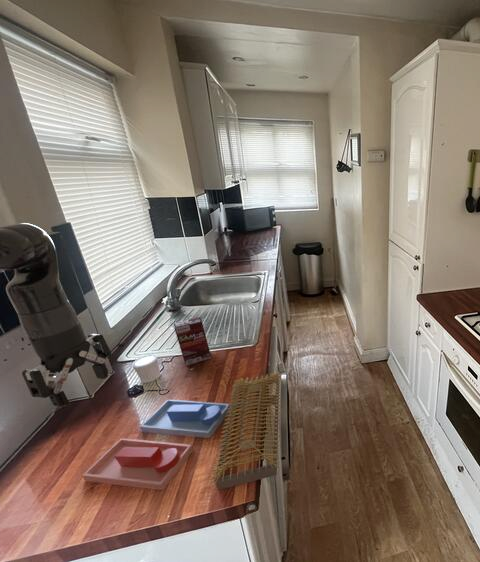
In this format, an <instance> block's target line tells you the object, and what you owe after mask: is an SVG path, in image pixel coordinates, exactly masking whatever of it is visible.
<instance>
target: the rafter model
mask: <svg viewBox="0 0 480 562" xmlns="http://www.w3.org/2000/svg"><path fill="white" fill-rule="evenodd" d="M280 384H281V370H279V371H275V372H273V373H271V374H270V375H269V374H268V375H263V374H261V376H259V377H258V375H257V376H256V377H254V376H252V377H251V378H249V377H248V376H247V377H246V379H244V378H243V377H242V378H241V380H239V379H233V384H232V387H231V388H232V389H231V392H230V395H229V397H230V398H229V400H230V401H228V404H230V405H228V406H231V407H230V408H228V409H230V411H228V412H226V413H228V414H227V416H225V418H226V419H225V418H224V420H223V422H225V423H223V427H222V428H221V429H222V430H223V429H225V430H223V431H221V434H223V435H221V436H220V438H223V439H220V440H219V443H221V442H222V443H221V444H218V445H217V446H218V447H221V448H219V449H217V450H216V451H217V452H220V453H219V454H218V453H217V454H216V455H215V456H216V457H218V458H216V459H215V460H214V462H217V461H218V462H217V463H215V464H214V465H213V467H216V468H215V469H212V472H211V475H214V474H215V475H214V476H212V477H211V478H210V481H211V482H210V483H209V486H211V485H212V484H213V483H214V485H216V488H217V491H221V490H224V489H228V488H232V487H235V486H236V487H237V486H239V485H244V484H247V483H252V482H255V481H256V482H257V481H260V480H262V479H267V478H270V477H274V476H278V468H279V466H278V464H279V461H278V458H279V455H280V454H279V453H278V451H280V449H279V448H278V447H279V446H280V444H279V443H278V442H280V439H279V438H280V436H279V433H280V431H279V429H280V427H279V425H280V423H279V421H280V419H279V417H280V415H279V414H280V413H281V411H280V410H281V408H280V406H281V404H280V402H281V401H280V399H281V398H280V396H281V394H280V393H281V391H280ZM256 395H257V396H256ZM228 409H227V410H228ZM266 409H267V410H266ZM236 415H238V416H236ZM236 419H237V420H236ZM265 420H267V421H265ZM235 423H236V424H235ZM265 424H267V425H266V426H265ZM224 425H226V426H224ZM234 427H235V428H234ZM265 429H266V430H265ZM234 431H235V432H234ZM264 433H265V434H264ZM258 434H259V435H258ZM261 434H262V435H261ZM233 436H234V437H233ZM264 437H265V438H264ZM260 438H262V439H260ZM272 439H273V440H272ZM232 440H233V441H232ZM257 443H259V444H257ZM261 443H262V444H261ZM230 445H232V446H230ZM263 446H264V447H263ZM265 446H266V447H265ZM237 447H238V448H237ZM230 450H231V451H230ZM246 450H251V451H246ZM240 451H241V452H240ZM244 451H245V452H244ZM261 451H264V452H261ZM255 452H256V453H255ZM230 454H231V455H230ZM247 455H250V456H247ZM240 456H241V457H240ZM244 456H245V457H244ZM234 459H235V460H234ZM261 460H265V465H263V466H261ZM257 461H258V467H257V468H254V462H257ZM249 463H251V469H247V464H249ZM241 465H244V471H240V466H241ZM235 466H237V472H235V473H233V469H234V467H235ZM229 468H230V471H229V474H228V475H225V474H226V470H228V469H229Z"/></svg>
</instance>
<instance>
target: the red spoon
mask: <svg viewBox="0 0 480 562" xmlns="http://www.w3.org/2000/svg"><path fill="white" fill-rule="evenodd" d="M114 457H115V458H116V460H117V461H118V463H119V465H120V466H121V467H154V469H155V471H156V472H158V473H163V472H166V471H168V470H170V469H171V468H173V467H174V466H175V465H176V464H177V463H178V461H179V459H180V454H179V452H178V450H177V449H176V448H169V449H166V450H164V451H163V452H161V450H160V448H159V447H123V448H122V449H121V450H120V451H119V452H118V453H117V454H116V455H115V456H114Z"/></svg>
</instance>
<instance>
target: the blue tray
mask: <svg viewBox="0 0 480 562" xmlns="http://www.w3.org/2000/svg"><path fill="white" fill-rule="evenodd" d="M194 404H204V406H205V408H208V407H210V406H214V405H216V406H219V408H220V410H221V416H220V418H219V419H218V420H216V421H215V422H213V423H211V424H208V425H204V424H202V423H201V421H171V420H170V418H169V416H168V414H167V412H166V411H167V410H168V409H169V408H170V407H171V406H172V405H194ZM230 404H231V403H223V402H211V401H210V402H209V401H197V400H182V399H171V398H170V399H169V398H168V399H166V400H165V401H164V402H162V404H161V405H160V406H159V407H158V408H157V410H155V411H154V412H153V413H152V414H151V415H150V416H149V417H148V418H147V419H146V420H145V421H143V423H142V424H141V425H140V426H139V428H140V430H141V432H142V433H147V434H148V433H149V434H160V435H171V436H180V437H181V436H183V437H191V438H192V437H193V438H202V439H211V438H212V436H213V435H214V434H215V432H216V431H217V429H218V428H219V426H221V424H222V422H224V420H225V418H226V417H225V416H227V415H229V413H226V412H228V411H230V409H228V408H230V407H231V406H228V405H230ZM227 409H228V410H227Z"/></svg>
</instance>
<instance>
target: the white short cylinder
mask: <svg viewBox="0 0 480 562" xmlns="http://www.w3.org/2000/svg"><path fill="white" fill-rule="evenodd" d="M131 365H132V367H133V369H134V371H135V373H136V374H137V376H138V378H139V380H140V382H141V383H143V384H147V383H152V382H154V381H156V380H158V379H159V378H160V377H161V369H160V365H159V359H158V356H157V355H156V354H146V355H143V356H140V357H139V358H137V359H136V360H134V361H133V362H132V364H131Z"/></svg>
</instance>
